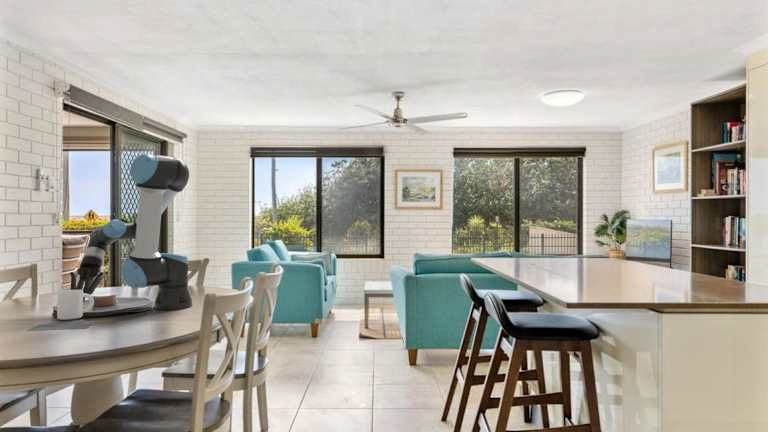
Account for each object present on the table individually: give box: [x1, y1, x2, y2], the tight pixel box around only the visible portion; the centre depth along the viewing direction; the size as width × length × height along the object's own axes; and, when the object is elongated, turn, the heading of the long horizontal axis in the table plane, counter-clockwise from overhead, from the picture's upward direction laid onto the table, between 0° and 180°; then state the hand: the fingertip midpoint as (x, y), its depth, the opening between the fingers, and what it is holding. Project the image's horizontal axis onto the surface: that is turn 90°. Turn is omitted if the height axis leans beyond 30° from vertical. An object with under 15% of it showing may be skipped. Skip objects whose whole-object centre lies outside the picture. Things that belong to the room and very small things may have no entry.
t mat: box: [26, 319, 96, 332], centre depth 175 cm, size 19×14×1 cm
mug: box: [56, 289, 95, 321], centre depth 185 cm, size 12×8×10 cm
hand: (75, 309), depth 189 cm, fingers closed
